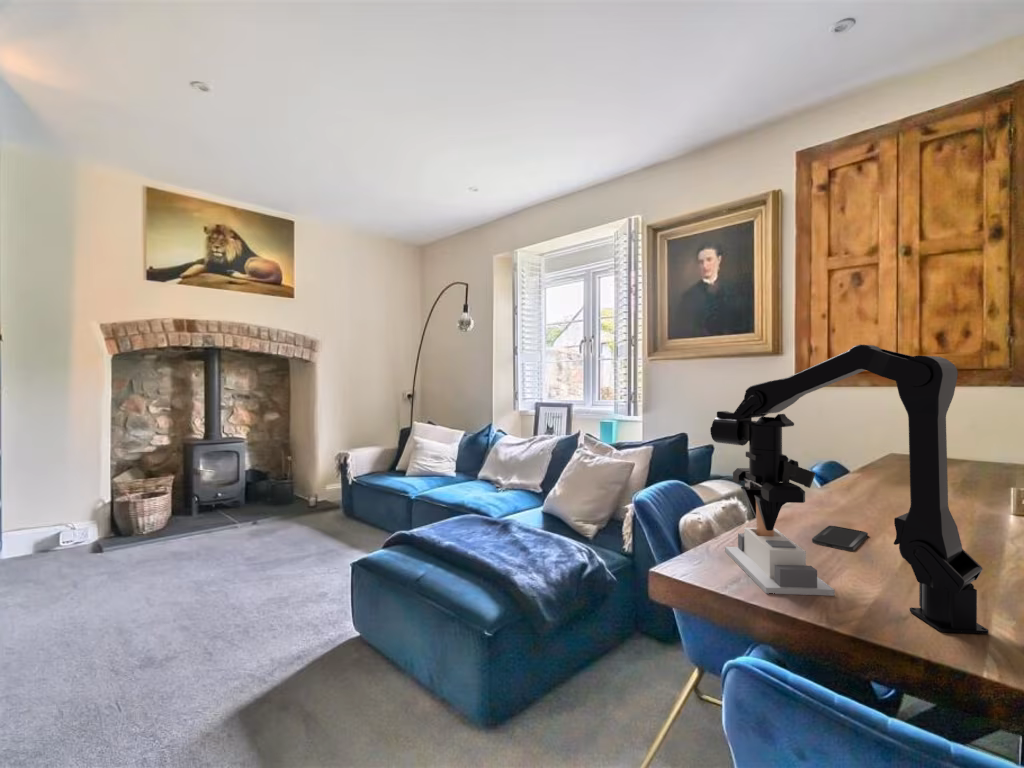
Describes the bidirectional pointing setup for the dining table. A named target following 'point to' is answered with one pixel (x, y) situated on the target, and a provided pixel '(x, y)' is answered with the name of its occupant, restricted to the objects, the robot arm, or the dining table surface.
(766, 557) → the white socket block
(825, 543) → the phone
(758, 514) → the orange-brown tapered capsule
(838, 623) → the dining table surface
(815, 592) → the board
